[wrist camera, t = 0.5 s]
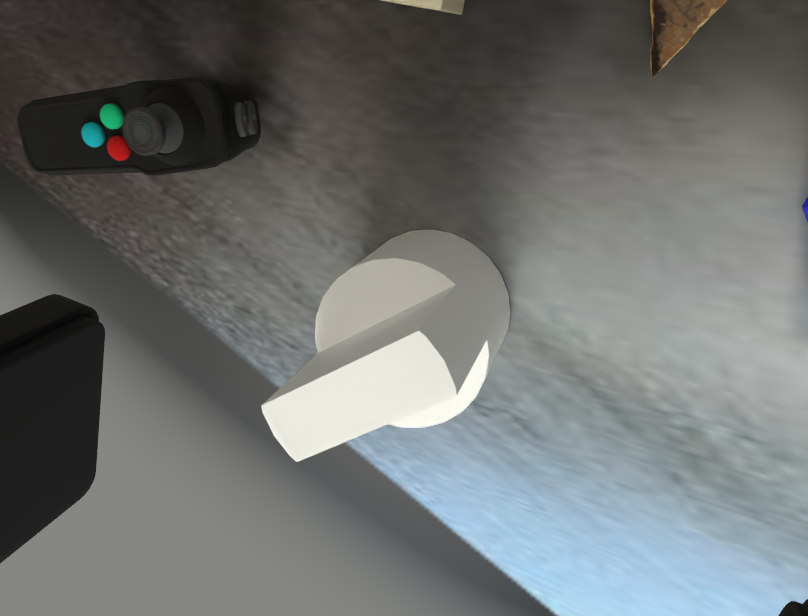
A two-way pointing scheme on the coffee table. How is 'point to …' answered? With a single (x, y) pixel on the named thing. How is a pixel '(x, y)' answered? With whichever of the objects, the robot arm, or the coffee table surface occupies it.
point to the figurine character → (805, 208)
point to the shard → (676, 26)
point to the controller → (140, 128)
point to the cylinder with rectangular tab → (395, 344)
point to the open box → (435, 5)
